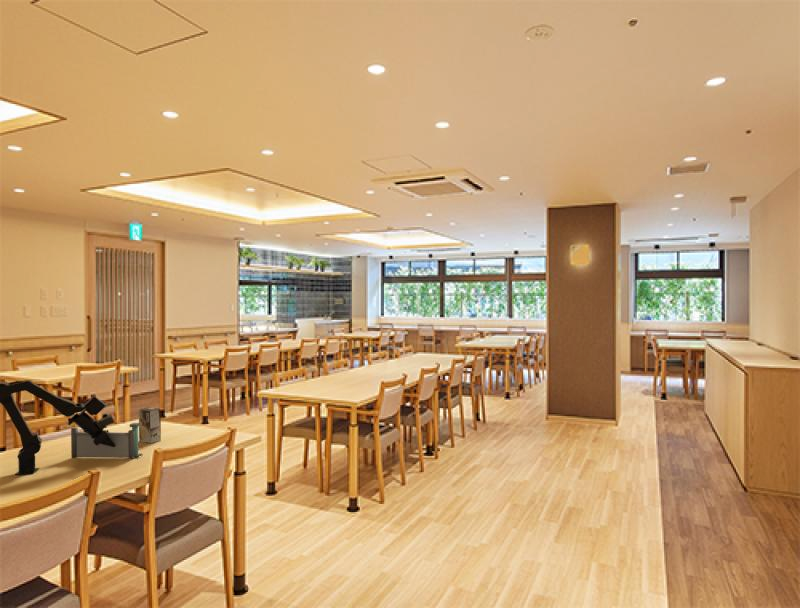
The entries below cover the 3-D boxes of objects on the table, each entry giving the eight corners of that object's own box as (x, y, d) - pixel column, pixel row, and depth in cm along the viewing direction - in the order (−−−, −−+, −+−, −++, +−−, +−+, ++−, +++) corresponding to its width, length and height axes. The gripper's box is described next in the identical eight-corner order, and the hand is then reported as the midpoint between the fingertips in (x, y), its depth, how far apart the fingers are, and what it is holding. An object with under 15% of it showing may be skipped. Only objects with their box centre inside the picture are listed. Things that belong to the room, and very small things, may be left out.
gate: (70, 457, 237) (69, 428, 237) (73, 456, 240) (73, 427, 239) (133, 458, 236) (132, 429, 236) (136, 456, 239) (136, 427, 238)
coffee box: (161, 440, 267) (161, 408, 267) (150, 443, 261) (150, 411, 261) (149, 438, 271) (149, 406, 271) (138, 441, 266) (137, 409, 265)
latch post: (127, 457, 239) (127, 424, 239) (131, 455, 242) (131, 422, 242) (138, 457, 239) (138, 424, 238) (142, 455, 242) (142, 422, 242)
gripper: (103, 413, 225) (131, 436, 231) (101, 405, 241) (127, 427, 247) (81, 433, 221) (110, 457, 227) (80, 424, 237) (107, 446, 243)
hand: (114, 446), depth 236 cm, fingers closed
